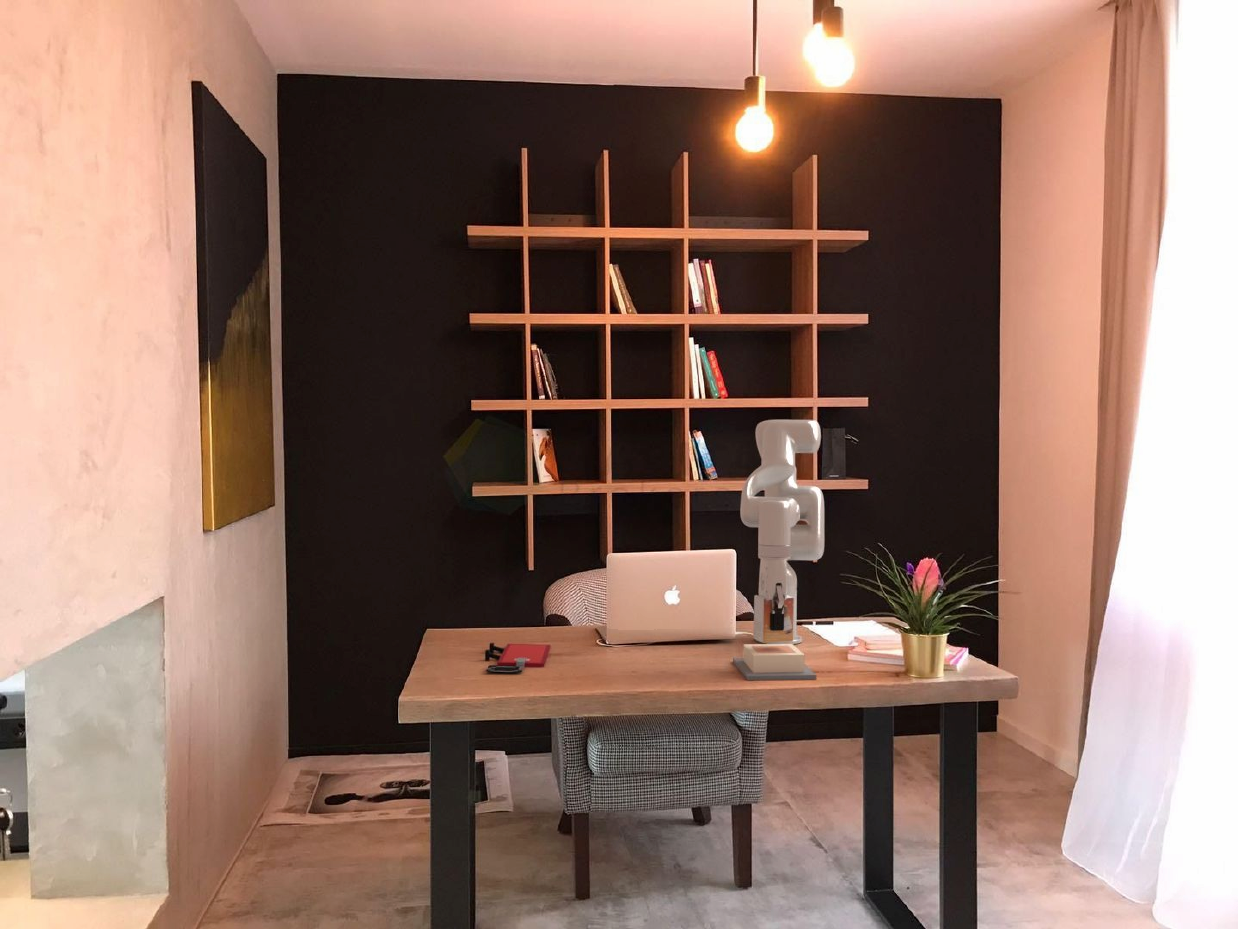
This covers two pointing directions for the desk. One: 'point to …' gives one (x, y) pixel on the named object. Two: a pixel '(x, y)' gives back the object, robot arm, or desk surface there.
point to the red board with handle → (517, 657)
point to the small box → (763, 620)
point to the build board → (772, 675)
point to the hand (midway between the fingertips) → (773, 626)
